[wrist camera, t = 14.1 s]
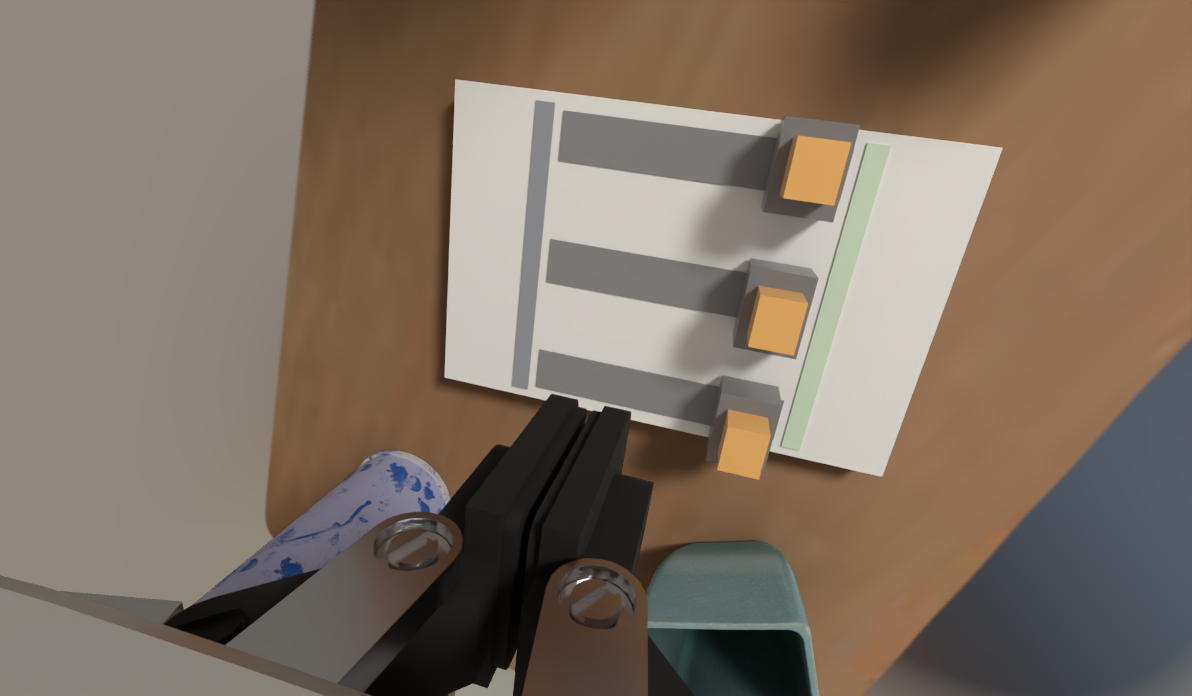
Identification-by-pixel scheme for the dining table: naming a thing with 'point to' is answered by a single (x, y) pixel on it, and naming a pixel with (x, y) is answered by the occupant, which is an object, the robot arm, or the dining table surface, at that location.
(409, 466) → the aerosol can
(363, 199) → the dining table surface
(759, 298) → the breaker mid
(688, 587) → the flower pot
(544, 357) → the panel
